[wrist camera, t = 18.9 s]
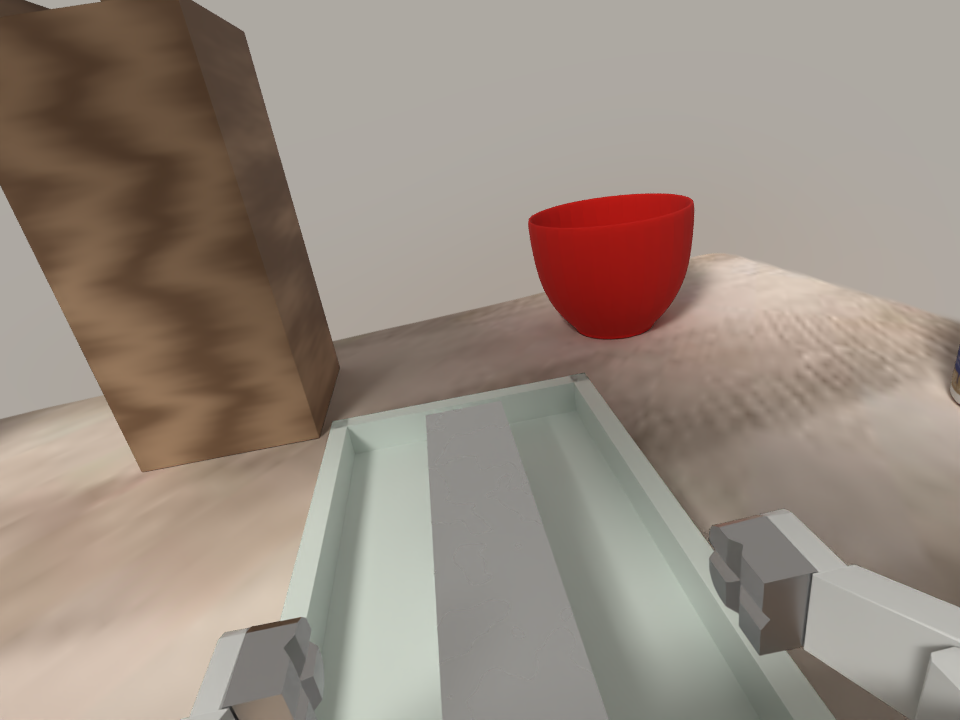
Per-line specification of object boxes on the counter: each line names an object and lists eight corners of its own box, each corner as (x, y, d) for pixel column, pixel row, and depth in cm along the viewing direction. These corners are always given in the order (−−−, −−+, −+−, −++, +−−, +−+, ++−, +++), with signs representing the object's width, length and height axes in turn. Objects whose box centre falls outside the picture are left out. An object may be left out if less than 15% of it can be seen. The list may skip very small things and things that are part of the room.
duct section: (487, 1039, 11) (454, 951, 10) (439, 478, 30) (425, 415, 28) (671, 992, 11) (669, 899, 10) (510, 463, 30) (501, 400, 28)
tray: (148, 1414, 9) (75, 1392, 8) (343, 456, 34) (332, 421, 33) (1068, 1156, 9) (1116, 1106, 8) (587, 408, 35) (584, 372, 34)
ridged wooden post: (142, 472, 36) (-92, -1, 25) (203, 393, 47) (59, 39, 36) (319, 437, 37) (166, -39, 26) (339, 367, 48) (238, 11, 37)
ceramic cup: (609, 283, 58) (604, 187, 54) (728, 325, 43) (733, 199, 39) (500, 313, 55) (486, 213, 51) (589, 371, 40) (579, 237, 36)
